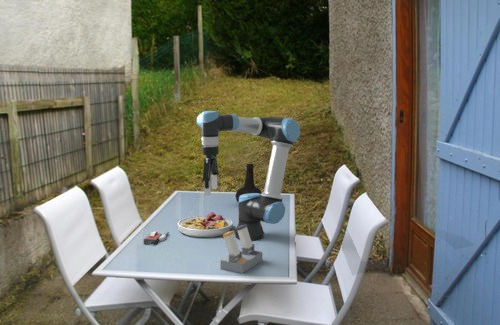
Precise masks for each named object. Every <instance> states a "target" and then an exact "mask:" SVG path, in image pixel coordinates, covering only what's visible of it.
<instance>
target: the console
mask: <svg viewBox="0 0 500 325" xmlns="http://www.w3.org/2000/svg"><path fill="white" fill-rule="evenodd" d="M252 245H253V246H252V247H253V249H252V250H250V251H248V248H245V247H243V248H239V251H240V257H238V258H236V259H235V256H234V255H229V254H228V255H227V256H225V257H223V258H222V259H220V270H224V271H228V272H229V271H230V272H234V273H239V274H244V273H245V272H247V271H248V270H249V269H251V268H253V267H255V266H256V265H257V264H259V263H261V262H262V261H263V251H259V250H255V243H252Z"/></svg>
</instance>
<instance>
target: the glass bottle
mask: <svg viewBox="0 0 500 325" xmlns="http://www.w3.org/2000/svg"><path fill="white" fill-rule="evenodd" d="M245 167H246V170H245V171H246V174H245V180H244V184H243V186H241V187H240V188H238V189H237V191H236V192H235V200H236V203H238V202H239V197H240V196H241V195H243V194H249V193H260V194H261V193H263V191H262V190H261V189H260V188H259V187H257V186H255V180H254V179H255V178H254V168H255V166H254V164H253V163H246V166H245Z"/></svg>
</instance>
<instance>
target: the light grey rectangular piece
mask: <svg viewBox="0 0 500 325" xmlns="http://www.w3.org/2000/svg"><path fill="white" fill-rule="evenodd" d="M236 230H237V231H238V234H239V238H240V239H239V240H240V241H239V242H240V243H241V246H242V248H243V247H245V248H248V251H250V250H252V249H253V247H252V246H253V245H252V244H253V242H252V240H251V239H250V236H249V232H248V229H247V224H245V225H241V226H239V227H236V228H235V231H236Z"/></svg>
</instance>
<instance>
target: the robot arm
mask: <svg viewBox="0 0 500 325" xmlns="http://www.w3.org/2000/svg"><path fill="white" fill-rule="evenodd" d="M196 124H197V126H198V127H199V128H200V129H201V137H200V140H201V145H202V146H201V154H202V155H203V156H206V158H204V159H203V162H204V163H203V170H202V173H203V174H202V179H201V181H202V182H203V192H204V196H212V195H211V190H212V189H213V190H218V176H219V175H220V172H219V168H218V159H217V155H219V153H220V152H219V151H220V150H219V143H220V142H219V133H220V132H228V131H229V132H239V133H247V134H251V135H253V136H257V137H262V138H265V139H269V140H270V143H271V145H272V148H271V153H270V158H269V163H268V168H267V172H266V179H265V184H264V188H263V189H264V190H263V191H262V193H261V194H260V193H249V194H243V195H241V196H240V197H239V202H237V203H238V224H237V227H239V226H241V225H245V224H247V229H248V232H249V236H250V239H251V241H257V240H259V241H260V240H262V239H263V238H265V236H264V234H265V233H264V229H263V226H262V223H261V222H263V223H265V224H272V225H275V224H278V223H279V222H280V221H282V220H283V218H284V217H285V216H284V215H285V212H286V207H285V204H284V203H283V197H282V195H281V194H282V193H281V192H282V188H283V184H284V183H283V182H284V177H285V172H286V167H287V161H288V157H289V151H290V149H291V148H292V147H294V143H295V142H297V141H298V140H299V139H300V135H301V128H300V125H299V122H298V121H297V120H295V119H294V118H290V117H278V116H265V117H261V116H260V117H258V116H254V117H252V118H250V117H244V116H243V117H242V116H238V115H237V114H235V113H228V114H227V113H219V112H218V111H216V110H205V111H202V112H201V113H200V114H198V116H197V117H196ZM237 227H236V228H237ZM234 235H235V238H236V239H238V240H240V238H239V234H238V231H237V230H236V229H235V231H234Z"/></svg>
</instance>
